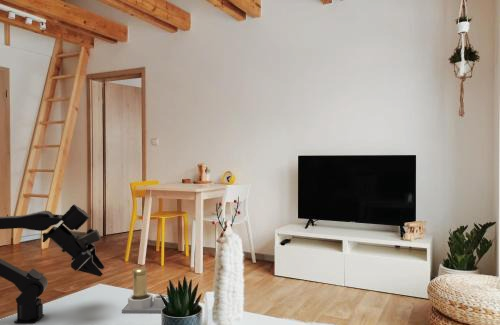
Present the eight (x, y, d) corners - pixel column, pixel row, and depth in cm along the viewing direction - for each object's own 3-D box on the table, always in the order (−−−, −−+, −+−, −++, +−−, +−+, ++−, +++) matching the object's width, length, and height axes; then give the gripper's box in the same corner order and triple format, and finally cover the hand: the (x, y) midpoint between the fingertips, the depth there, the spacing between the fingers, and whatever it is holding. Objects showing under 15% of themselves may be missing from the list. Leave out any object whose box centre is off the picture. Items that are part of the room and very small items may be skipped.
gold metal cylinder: (130, 307, 143) (129, 270, 143) (138, 302, 147) (138, 266, 147) (142, 308, 141) (141, 271, 141) (150, 303, 146) (149, 268, 146)
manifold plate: (121, 313, 140) (121, 301, 140) (130, 303, 149) (129, 292, 149) (169, 313, 140) (169, 301, 140) (175, 304, 149) (175, 292, 149)
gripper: (82, 226, 130) (119, 259, 134) (88, 218, 148) (121, 247, 151) (54, 253, 128) (93, 286, 131) (64, 242, 146) (98, 271, 149)
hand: (102, 271), depth 141 cm, fingers open, 9 cm apart
